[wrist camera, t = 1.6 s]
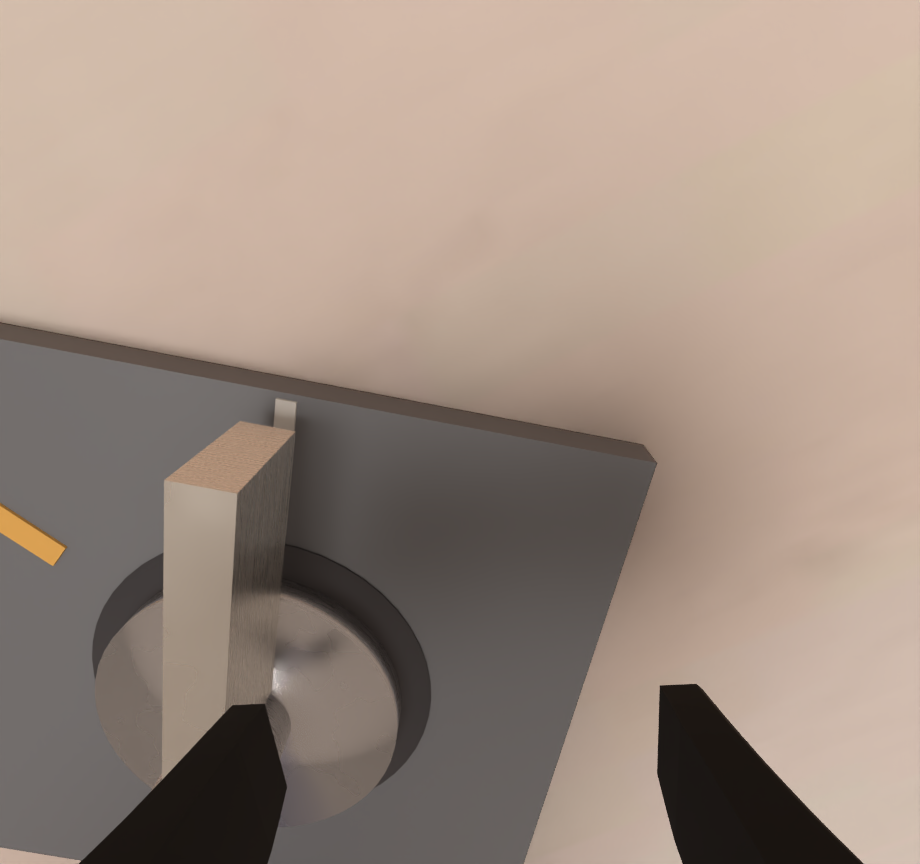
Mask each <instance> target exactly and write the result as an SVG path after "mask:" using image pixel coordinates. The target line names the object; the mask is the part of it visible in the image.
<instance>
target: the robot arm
mask: <svg viewBox="0 0 920 864" xmlns="http://www.w3.org/2000/svg"><path fill="white" fill-rule="evenodd" d="M657 774H658V778H659V782H660V786H661V790H662V794H663V798H664V802H665V806H666V810H667V814H668V817H669V821H670V825H671V829H672V832H673V836H674V840H675V843H676V846H677V849H678V852H679V854H680V857H681V860H682V863H683V864H863V863H862V862H861V861H860V860H859V859H858V858H857V857H856V856H855V855H854V854H853V853H852V852H851V851H850V850H849V849H848V848H847V847H846V846H845V845H844V844H843V843H842V842H841V841H840V840H839V839H838V838H837V837H836V836H835V835H834V834H833V833H832V832H831V831H830V830H829V829H828V828H827V827H826V826H825V825H824V824H823V823H822V822H821V821H820V820H819V819H818V818H817V817H816V816H815V815H814V814H813V813H812V812H811V811H810V810H809V809H808V807H807V806H806V805H805V804H804V803H803V802H802V801H801V800H800V799H799V798H798V797H797V796H796V795H795V794H794V793H793V792H792V790H791V789H790V788H789V787H788V786H787V785H786V784H785V783H784V782H783V781H782V780H781V779H780V778H779V777H778V776H777V775H776V774H775V772H774V771H773V770H772V769H771V768H770V767H769V766H768V765H767V764H766V763H765V761H764V760H763V759H762V758H761V757H760V756H759V755H758V754H757V753H756V751H755V750H754V749H753V748H752V747H751V746H750V745H749V743H748V742H747V741H746V740H745V739H744V738H743V737H742V736H741V734H740V733H739V732H738V731H737V730H736V729H735V727H734V726H733V725H732V724H731V723H730V722H729V720H728V719H727V718H726V717H725V716H724V715H723V713H722V712H721V711H720V710H719V709H718V707H717V706H716V705H715V704H714V703H713V701H712V700H711V699H710V698H709V697H708V695H707V694H706V693H705V692H704V691H703V689H701V688H700V687H699V686H698V685H697V684H685V685H663V686H660V701H659V734H658V768H657ZM286 790H287V784H286V780H285V777H284V773H283V769H282V766H281V762H280V758H279V754H278V751H277V747H276V743H275V740H274V736H273V732H272V728H271V725H270V721H269V717H268V714H267V710H266V706H265V704H246V705H232V706H231V707H230V708H229V709H228V710H227V711H226V712H225V713H224V714H223V715H222V716H221V717H220V718H219V720H218V721H217V722H216V723H215V724H214V725H213V726H212V727H211V728H210V729H209V730H208V731H207V732H206V733H205V734H204V736H203V737H202V738H201V739H200V740H199V741H198V742H197V743H196V744H195V745H194V746H193V747H192V748H191V749H190V751H189V752H188V753H187V754H186V755H185V756H184V757H183V758H182V759H181V760H180V761H179V762H178V763H177V764H176V766H175V767H174V768H173V769H172V770H171V771H170V772H169V773H168V774H167V775H166V776H165V777H164V778H163V779H162V780H161V781H160V782H159V784H158V785H157V786H156V787H155V788H154V789H153V790H152V791H151V792H150V793H149V794H148V795H147V796H146V797H145V798H144V799H143V800H142V801H141V802H140V803H139V804H138V805H137V806H136V807H135V809H134V810H133V811H132V812H131V813H130V814H129V815H128V816H127V817H126V818H125V819H124V820H123V821H122V822H121V823H120V824H119V825H118V826H117V827H116V828H115V829H114V830H113V831H112V832H111V833H110V834H109V835H108V836H107V837H106V838H105V839H104V840H103V841H102V842H100V843H99V844H98V845H97V846H96V847H95V848H94V849H93V850H92V851H91V852H90V853H89V854H88V855H87V856H86V857H85V858H84V859H83V860H82V861H81V862H80V863H79V864H267V863H268V861H269V858H270V855H271V852H272V848H273V844H274V840H275V836H276V832H277V828H278V824H279V820H280V816H281V811H282V807H283V803H284V798H285V794H286Z"/></svg>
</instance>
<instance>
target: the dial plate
mask: <svg viewBox="0 0 920 864" xmlns="http://www.w3.org/2000/svg"><path fill="white" fill-rule="evenodd" d="M239 421H243V422H248V423H254V424H259V425H264V426H270V427H275V428H280V429H286V430H291V431H296V432H295V443H294V454H293V465H292V476H291V486H290V497H289V508H288V519H287V530H286V541H285V552H284V562H283V573H282V578H284V579H288V580H291V581H294V582H297V583H300V584H302V585H305V586H308V587H310V588H312V589H314V590H316V591H318V592H321V593H323V594H325V595H327V596H328V597H330V598H332V599H333V600H335V601H336V602H338V603H340V604H341V605H343V606H344V607H345V608H347V609H348V610H349V611H350V612H352V613H353V614H354V615H355V616H357V617H358V618H359V619H360V620H361V621H362V622H363V623H364V624H365V625H366V626H367V627H368V628H369V629H370V630H371V631H372V632H373V634H374V635H375V636H376V637H377V639H378V640H379V641H380V643H381V644H382V645H383V647H384V649H385V650H386V652H387V654H388V656H389V657H390V659H391V661H392V664H393V666H394V669H395V671H396V674H397V677H398V682H399V686H400V692H401V712H400V721H399V727H398V733H397V739H396V745H395V749H394V752H393V756H392V759H391V762H390V764H389V766H388V768H387V770H386V772H385V774H384V775H383V777H382V778H381V780H380V781H379V782H378V784H377V785H376V786H375V787H374V788H373V789H372V790H371V791H370V792H369V793H368V794H367V795H366V796H365V797H364V798H363V799H361V800H360V801H359V802H357V803H356V804H355V805H353V806H352V807H350V808H348V809H346V810H344V811H343V812H341V813H339V814H336V815H334V816H331V817H329V818H327V819H324V820H320V821H317V822H313V823H309V824H304V825H298V826H292V827H278V828H277V832H276V836H275V840H274V844H273V848H272V852H271V855H270V858H269V861H268V863H267V864H524V861H525V858H526V855H527V852H528V849H529V846H530V843H531V840H532V837H533V834H534V831H535V828H536V825H537V822H538V819H539V816H540V813H541V810H542V807H543V804H544V801H545V798H546V795H547V792H548V789H549V786H550V783H551V780H552V777H553V774H554V771H555V768H556V765H557V762H558V759H559V756H560V753H561V750H562V747H563V744H564V741H565V738H566V735H567V732H568V729H569V726H570V723H571V720H572V717H573V714H574V711H575V708H576V705H577V702H578V699H579V696H580V693H581V690H582V687H583V684H584V681H585V678H586V675H587V672H588V669H589V666H590V663H591V660H592V657H593V654H594V651H595V648H596V645H597V642H598V639H599V636H600V633H601V630H602V627H603V624H604V621H605V618H606V615H607V612H608V609H609V606H610V603H611V600H612V597H613V594H614V591H615V588H616V585H617V582H618V579H619V576H620V573H621V570H622V567H623V564H624V561H625V558H626V555H627V552H628V549H629V546H630V543H631V540H632V537H633V534H634V531H635V528H636V525H637V522H638V519H639V516H640V513H641V510H642V507H643V504H644V501H645V498H646V495H647V492H648V489H649V486H650V483H651V480H652V477H653V474H654V471H655V468H656V465H657V462H656V461H655V460H654V458H653V457H652V456H651V454H650V453H649V452H648V451H647V449H646V448H645V447H644V445H641V444H636V443H630V442H625V441H620V440H615V439H609V438H604V437H599V436H593V435H588V434H583V433H578V432H572V431H567V430H562V429H557V428H551V427H546V426H541V425H536V424H530V423H525V422H520V421H514V420H509V419H504V418H499V417H493V416H488V415H483V414H478V413H472V412H467V411H462V410H457V409H451V408H446V407H441V406H435V405H430V404H425V403H420V402H414V401H409V400H404V399H399V398H393V397H388V396H383V395H377V394H372V393H367V392H362V391H356V390H351V389H346V388H341V387H335V386H330V385H325V384H320V383H314V382H309V381H304V380H298V379H293V378H288V377H283V376H277V375H272V374H267V373H262V372H256V371H251V370H246V369H240V368H235V367H230V366H225V365H219V364H214V363H209V362H204V361H198V360H193V359H188V358H183V357H177V356H172V355H167V354H161V353H156V352H151V351H146V350H140V349H135V348H130V347H125V346H119V345H114V344H109V343H103V342H98V341H93V340H88V339H82V338H77V337H72V336H67V335H61V334H56V333H51V332H46V331H40V330H35V329H30V328H24V327H19V326H14V325H9V324H3V323H0V847H2V848H8V849H14V850H20V851H26V852H32V853H38V854H44V855H51V856H57V857H63V858H69V859H75V860H81V861H82V860H83V859H84V858H85V857H86V856H87V855H88V854H89V853H90V852H91V851H92V850H93V849H94V848H95V847H96V846H97V845H98V844H99V843H100V842H102V841H103V840H104V839H105V838H106V837H107V836H108V835H109V834H110V833H111V832H112V831H113V830H114V829H115V828H116V827H117V826H118V825H119V824H120V823H121V822H122V821H123V820H124V819H125V818H126V817H127V816H128V815H129V814H130V813H131V812H132V811H133V810H134V809H135V807H136V806H137V805H138V804H139V803H140V802H141V801H142V800H143V799H144V798H145V797H146V796H147V795H148V794H149V793H150V792H151V790H152V788H150V787H149V786H148V785H147V784H145V783H144V782H143V781H141V780H140V779H139V778H138V777H137V776H136V775H135V774H134V773H133V772H132V771H131V770H130V769H129V768H128V767H127V766H126V765H125V763H124V762H123V761H122V760H121V759H120V757H119V756H118V755H117V754H116V752H115V750H114V749H113V747H112V746H111V744H110V742H109V741H108V739H107V737H106V735H105V733H104V730H103V728H102V726H101V723H100V720H99V716H98V713H97V709H96V701H95V678H96V674H97V669H98V665H99V662H100V660H101V658H102V655H103V653H104V651H105V649H106V648H107V646H108V644H109V643H110V641H111V640H112V638H113V637H114V636H115V635H116V634H117V633H118V631H119V630H120V629H121V628H122V627H123V626H124V625H125V624H126V623H127V622H128V620H129V619H130V618H131V617H132V616H133V615H134V614H135V613H136V612H137V611H138V610H139V609H140V608H141V606H142V605H143V604H144V603H146V602H147V601H148V600H149V599H151V598H152V597H153V596H155V595H156V594H157V593H159V592H161V591H163V560H164V480H165V479H166V478H167V477H169V476H170V475H171V474H173V473H174V472H175V471H176V470H178V469H179V468H180V467H182V466H183V465H184V464H185V463H187V462H188V461H189V460H191V459H192V458H193V457H194V456H196V455H197V454H198V453H200V452H201V451H202V450H203V449H205V448H206V447H207V446H208V445H210V444H211V443H212V442H214V441H215V440H216V439H217V438H219V437H220V436H221V435H223V434H224V433H225V432H226V431H228V430H229V429H230V428H232V427H233V426H234V425H235V424H237V423H238V422H239Z"/></svg>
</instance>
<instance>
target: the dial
mask: <svg viewBox="0 0 920 864" xmlns="http://www.w3.org/2000/svg"><path fill="white" fill-rule="evenodd" d="M295 432H296V431H291V430H286V429H280V428H275V427H270V426H264V425H259V424H254V423H248V422H243V421H239V422H238V423H237V424H235V425H234V426H233V427H232V428H230V429H229V430H228V431H226V432H225V433H224V434H223V435H221V436H220V437H219V438H217V439H216V440H215V441H214V442H212V443H211V444H210V445H208V446H207V447H206V448H205V449H203V450H202V451H201V452H200V453H198V454H197V455H196V456H194V457H193V458H192V459H191V460H189V461H188V462H187V463H185V464H184V465H183V466H182V467H180V468H179V469H178V470H176V471H175V472H174V473H173V474H171V475H170V476H169V477H167V478H166V479H165V480H164V560H163V591H161V592H159V593H157V594H156V595H155V596H153V597H152V598H151V599H149V600H148V601H147V602H146V603H144V604H143V605H142V606H141V608H140V609H139V610H138V611H137V612H136V613H135V614H134V615H133V616H132V617H131V618H130V619H129V620H128V622H127V623H126V624H125V625H124V626H123V627H122V628H121V629H120V630H119V631H118V633H117V634H116V635H115V636H114V637H113V638H112V640H111V641H110V643H109V644H108V646H107V648H106V649H105V651H104V653H103V655H102V658H101V660H100V662H99V665H98V669H97V674H96V678H95V701H96V709H97V713H98V716H99V720H100V723H101V726H102V728H103V730H104V733H105V735H106V737H107V739H108V741H109V742H110V744H111V746H112V747H113V749H114V750H115V752H116V754H117V755H118V756H119V757H120V759H121V760H122V761H123V762H124V763H125V765H126V766H127V767H128V768H129V769H130V770H131V771H132V772H133V773H134V774H135V775H136V776H137V777H138V778H139V779H140V780H141V781H143V782H144V783H145V784H147V785H148V786H149V787H150V788H152V790H153V789H154V788H155V787H156V786H157V785H158V784H159V782H160V781H161V780H162V779H163V778H164V777H165V776H166V775H167V774H168V773H169V772H170V771H171V770H172V769H173V768H174V767H175V766H176V764H177V763H178V762H179V761H180V760H181V759H182V758H183V757H184V756H185V755H186V754H187V753H188V752H189V751H190V749H191V748H192V747H193V746H194V745H195V744H196V743H197V742H198V741H199V740H200V739H201V738H202V737H203V736H204V734H205V733H206V732H207V731H208V730H209V729H210V728H211V727H212V726H213V725H214V724H215V723H216V722H217V721H218V720H219V718H220V717H221V716H222V715H223V714H224V713H225V712H226V711H227V710H228V709H229V708H230V707H231V706H232V705H246V704H265V706H266V710H267V714H268V717H269V721H270V725H271V728H272V732H273V736H274V740H275V743H276V747H277V751H278V754H279V758H280V762H281V766H282V769H283V773H284V777H285V780H286V784H287V790H286V794H285V798H284V803H283V807H282V811H281V816H280V820H279V824H278V827H292V826H298V825H304V824H309V823H313V822H317V821H320V820H324V819H327V818H329V817H331V816H334V815H336V814H339V813H341V812H343V811H344V810H346V809H348V808H350V807H352V806H353V805H355V804H356V803H357V802H359V801H360V800H361V799H363V798H364V797H365V796H366V795H367V794H368V793H369V792H370V791H371V790H372V789H373V788H374V787H375V786H376V785H377V784H378V782H379V781H380V780H381V778H382V777H383V775H384V774H385V772H386V770H387V768H388V766H389V764H390V762H391V759H392V756H393V752H394V749H395V745H396V739H397V733H398V727H399V721H400V712H401V692H400V686H399V682H398V677H397V674H396V671H395V669H394V666H393V664H392V661H391V659H390V657H389V656H388V654H387V652H386V650H385V649H384V647H383V645H382V644H381V643H380V641H379V640H378V639H377V637H376V636H375V635H374V634H373V632H372V631H371V630H370V629H369V628H368V627H367V626H366V625H365V624H364V623H363V622H362V621H361V620H360V619H359V618H358V617H357V616H355V615H354V614H353V613H352V612H350V611H349V610H348V609H347V608H345V607H344V606H343V605H341V604H340V603H338V602H336V601H335V600H333V599H332V598H330V597H328V596H327V595H325V594H323V593H321V592H318V591H316V590H314V589H312V588H310V587H308V586H305V585H302V584H300V583H297V582H294V581H291V580H288V579H284V578H282V573H283V562H284V552H285V541H286V530H287V519H288V508H289V497H290V486H291V476H292V465H293V454H294V443H295ZM152 790H151V791H152Z"/></svg>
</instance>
